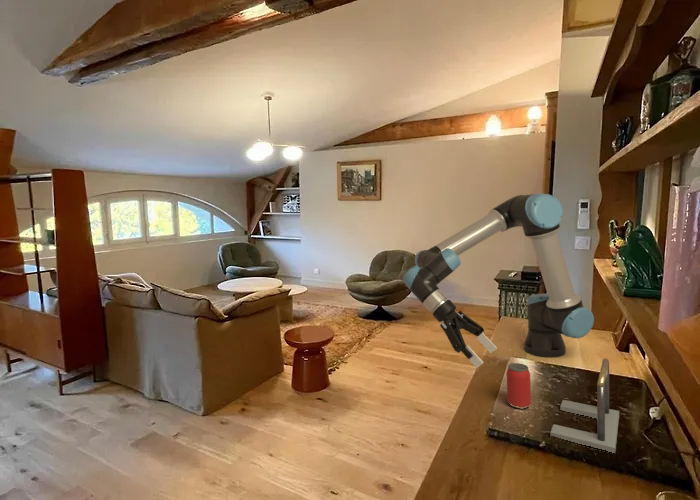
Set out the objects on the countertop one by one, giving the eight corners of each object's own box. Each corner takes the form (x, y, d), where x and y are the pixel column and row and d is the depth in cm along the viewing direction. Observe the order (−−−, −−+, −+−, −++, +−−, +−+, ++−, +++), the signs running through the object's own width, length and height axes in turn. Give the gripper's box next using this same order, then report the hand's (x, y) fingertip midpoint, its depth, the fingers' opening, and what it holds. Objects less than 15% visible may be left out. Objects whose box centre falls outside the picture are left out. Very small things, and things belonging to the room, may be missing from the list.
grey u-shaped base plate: (563, 404, 121) (562, 399, 121) (619, 416, 113) (619, 410, 113) (550, 437, 105) (550, 432, 105) (615, 453, 97) (615, 448, 97)
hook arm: (602, 415, 114) (602, 357, 112) (609, 416, 113) (609, 358, 111) (597, 445, 101) (596, 380, 99) (604, 447, 100) (604, 382, 98)
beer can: (531, 411, 119) (530, 371, 117) (507, 409, 121) (506, 370, 120) (530, 400, 125) (529, 363, 124) (507, 398, 127) (506, 361, 126)
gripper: (447, 304, 145) (491, 351, 138) (415, 323, 125) (464, 379, 118) (461, 291, 142) (507, 338, 134) (430, 308, 122) (482, 365, 114)
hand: (487, 357), depth 126 cm, fingers open, 13 cm apart
